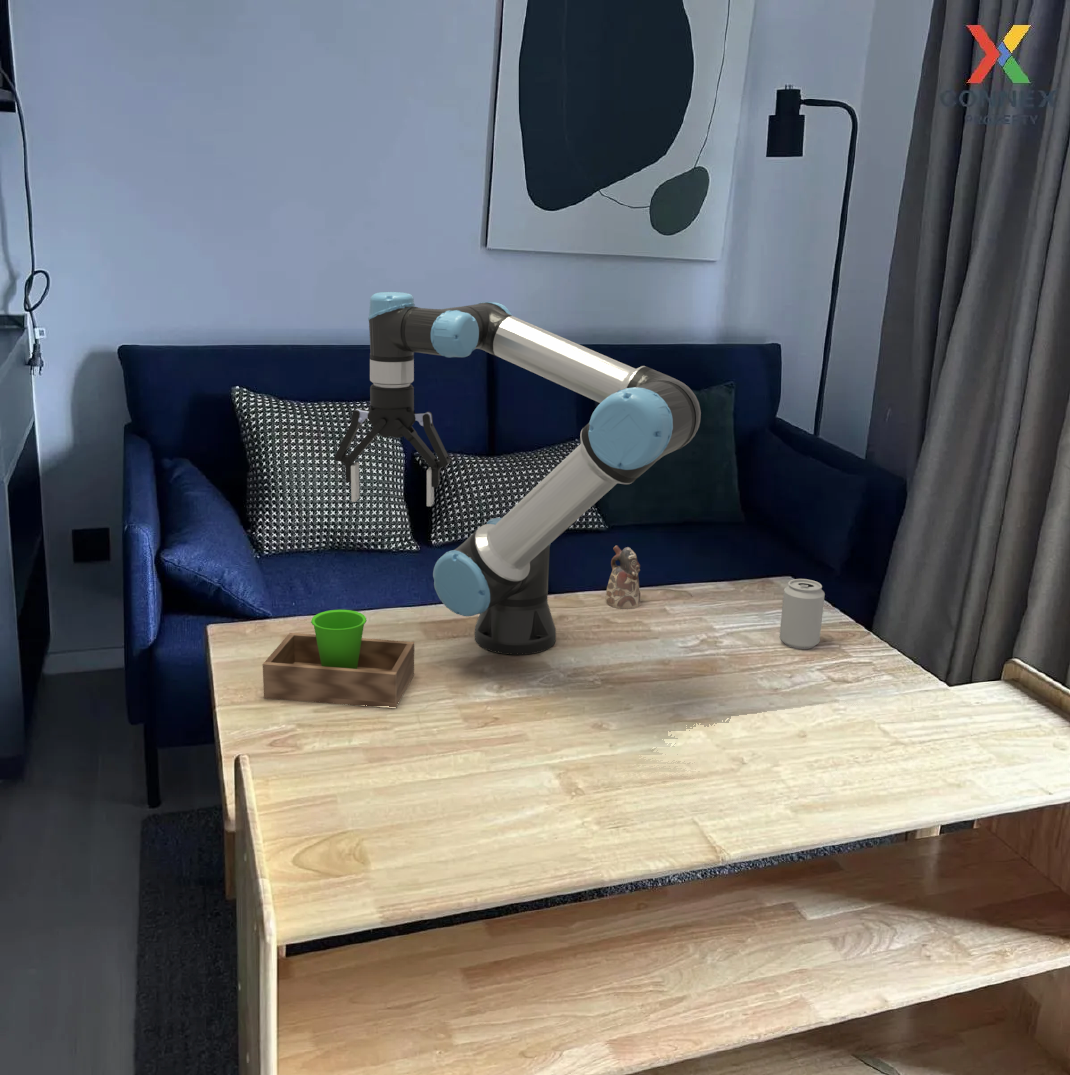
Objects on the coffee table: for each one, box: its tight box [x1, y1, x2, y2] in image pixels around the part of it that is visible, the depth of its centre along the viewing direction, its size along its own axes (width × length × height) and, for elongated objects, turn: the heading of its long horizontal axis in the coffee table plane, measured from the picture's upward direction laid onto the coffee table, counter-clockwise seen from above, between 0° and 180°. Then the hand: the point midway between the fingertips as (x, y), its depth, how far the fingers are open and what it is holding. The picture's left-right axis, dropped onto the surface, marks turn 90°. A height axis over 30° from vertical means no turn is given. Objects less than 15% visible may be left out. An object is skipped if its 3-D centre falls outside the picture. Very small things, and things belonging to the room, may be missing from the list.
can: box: [778, 578, 826, 650], centre depth 222 cm, size 8×8×12 cm
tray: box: [262, 632, 415, 708], centre depth 198 cm, size 22×14×6 cm, turn 83°
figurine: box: [605, 545, 641, 610], centre depth 240 cm, size 7×7×12 cm
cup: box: [310, 609, 367, 669], centre depth 197 cm, size 9×9×11 cm
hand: (392, 502), depth 210 cm, fingers open, 13 cm apart
